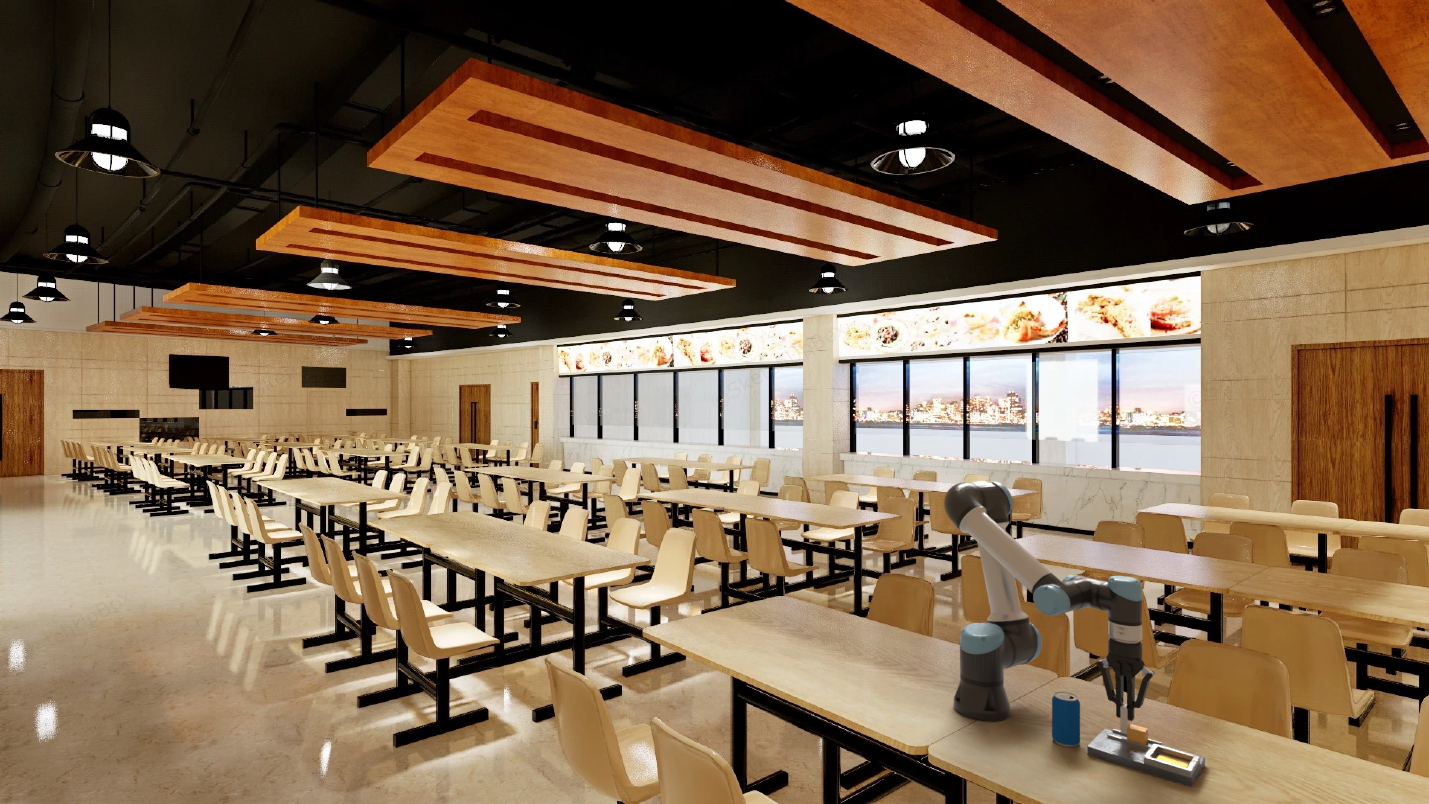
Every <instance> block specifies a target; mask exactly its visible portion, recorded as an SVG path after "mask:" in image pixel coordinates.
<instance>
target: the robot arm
mask: <svg viewBox="0 0 1429 804" xmlns="http://www.w3.org/2000/svg"><path fill="white" fill-rule="evenodd" d="M1013 506H1014V500H1013V496H1012V493H1011V492H1010V491H1009V489H1008V488H1007V487H1006V486H1005V485H1003V484H1002V483H1001V482H999V481H994V480H979V481H970V482H969V481H968V482H959V483H956V484H954V485H952V486H951V487H950V488H949V489H948V490H947V492H946V494H945V496H944V500H943V507H944V510H945V514H946V515H947V517H948V519H949V520H950V521H951V522H952V523H953V525H954V527H956V529H958V530H959V531H960V532H962V533H963V534H968V535H969V536H971V537H972V539H974V540H975V541H976V542H977V547H978V551H979V556H980V564H981V567H982V571H983V573H982V574H983V578H984V582H985V587H986V593H987V599H988V604H989V607H990V608H989V609H990V613H989V616H988V617H987V618H986V621H987V622H980V623H979V622H973V623H969V624H967V625H965V626H964V627H963V628H962V629H961V631H960V637H959V671H960V672H959V676H960V677H959V682H958V685H957V687H956V691H955V693H954V696H953V708H954V710H956V712H958V713H959V714H961V715H963V716H965V717H968V718H970V719H975V720H978V721H985V722H992V721H993V722H995V721H996V722H997V721H1003V720H1007V719H1008V718H1010V716H1011V703H1010V701H1009V697H1008V693H1007V692H1006V688H1005V685H1004V682H1005V679H1004V677H1005V676H1004V674H1005V673H1004V671H1005V670H1007V669H1010V668H1013V667H1016V666H1021V665H1027V664H1028V663H1030V662H1032V661H1034V660H1035V659H1037V658H1038V657H1039V655H1040V653H1041V651H1042V647H1043V640H1042V636H1041V633H1040V630H1039V629H1038V628H1037V627H1036V626H1035V624H1033V623H1032V622H1031V621H1030V618H1029V615H1028V614H1027V613H1026V612H1024V611H1023V610H1022V606H1021V601H1020V597H1019V591H1018V587H1017V581H1016V580H1018V581H1019V582H1020V584H1022V586H1024V587H1025V588H1026V589H1027V590H1028V591H1029V592H1030V593H1031V594H1032V595H1033V598H1032V600H1033V603H1034V604H1035V608H1036V610H1038V611H1039V612H1040V613H1042V614H1043V615H1046V616H1057V615H1058V616H1059V615H1065V614H1066V613H1069V612H1074V611H1078V610H1082V609H1087V608H1090V609H1095V610H1099V611H1103V612H1107V617H1108V619H1107V623H1108V627H1107V628H1108V629H1107V630H1108V631H1107V632H1108V633H1107V634H1108V636H1109V637H1108V638H1107V639H1108V641H1107V643H1108V644H1107V645H1108V646H1107V648H1108V649H1107V650H1108V651H1107V652H1108V653H1107V655H1106V656H1105V658H1104V659H1102V658H1101V659H1099V660H1098V661H1097V662H1096V665H1097V667H1098V669H1099V670H1100V671H1101V672H1100V673H1101V677H1102V680H1103V684H1104V688H1105V692H1106V697H1107V699H1108V701H1110V702H1112V703H1114V704H1115V716H1116V718H1119V720H1120V732H1121V733H1124V734H1127V727H1128V725H1129V724H1131V722H1133V721H1134V720H1135V709H1140V708H1141V707H1142V706H1143V704H1144V701H1145V697H1146V694H1147V691H1148V688H1149V684H1150V681H1151V679H1152V678H1154V676H1155V671H1153V670H1150V669H1149V668H1148V667H1147V666H1145V665H1146V664H1145V662H1144V661H1143V660H1144V659H1143V642H1142V640H1143V619H1142V618H1143V599H1144V597H1143V589H1142V588H1143V587H1142V582H1141V581H1140V580H1139V579H1138V578H1136V577H1131V576H1125V575H1124V576H1123V575H1112V576H1109V577H1108V579H1107V581H1105V580H1099V579H1095V578H1091V577H1087V576H1084V575H1075V574H1068V575H1066V576H1065V578H1063V579H1062V580H1060V578H1058V577H1057V576H1056V575H1055V574H1054V573H1053V572H1051V571H1050V570H1049V569H1048V568H1047V567H1045V566H1044V564H1042V563H1041V562H1040V561H1039V560H1038V559H1037V558H1036V557H1035V556H1034V555H1032V554H1031V552H1030V551H1028V550H1027V549H1026V548H1025V547H1023V546H1022V545H1021V544H1020V543H1019V542H1018V541H1017V540H1016V539H1014V538H1013V536H1011V535H1010V534H1009V533H1008V532H1007V531H1006V528H1007V527H1008V525H1009V524H1010V520H1009V515H1010V513H1011V512H1012V510H1013ZM1109 667H1111V669H1112V670H1113V672H1114V678H1115V688H1114V684H1113V680H1112V676H1111V672H1110V668H1109ZM1140 672H1142V673H1141V675H1142V677H1143V678H1142V680H1141V682H1140V686H1139V689H1138V693H1137V696H1136V676H1137V675H1138V674H1139V673H1140ZM1124 677H1125V678H1126V679H1125V680H1126V703H1124V702H1125V699H1124V695H1125V693H1124V689H1125V688H1124V687H1125V686H1124V683H1125V682H1124Z"/></svg>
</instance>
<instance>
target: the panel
mask: <svg viewBox="0 0 1429 804" xmlns="http://www.w3.org/2000/svg"><path fill="white" fill-rule="evenodd" d="M1086 748H1087V749H1086V750H1087V751H1086V752H1087V755H1088V756H1091V757H1095V758H1098V759H1100V760H1104V761H1107V762H1110V763H1114V764H1116V765H1120V766H1123V767H1124V768H1125V767H1126V768H1129V769H1132V770H1136V771H1138V772H1140V773H1145V774H1148V775H1151V776H1154V777H1158V778H1161V779H1164V780H1167V781H1170V782H1173V783H1176V784H1180V785H1183V786H1185V787H1189V788H1193V786H1194V785H1195V784H1196V782H1197V780H1198V778H1199V776H1200V775H1201V773H1202V771H1203V769H1204V768H1205V767H1206V757H1205V756H1202V755H1199V754H1195V753H1192V752H1188V751H1185V750H1181V749H1179V748H1173V747H1171V746H1167V745H1165V744H1163V743H1162V741H1158V740H1153V739H1150V738H1148V742H1147V743H1146V745H1145V744H1141V743H1138V742H1134V741H1131V740H1127V734H1124V733H1121V732H1120V730H1119V729H1116V728H1112V730H1111V729H1108V728H1104V729H1103V730H1102V731H1100V733H1099V734H1098V735H1097V736H1096V737H1094V739H1093V740H1091V742H1090V743H1088V745H1087V747H1086Z"/></svg>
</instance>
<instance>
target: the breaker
mask: <svg viewBox="0 0 1429 804" xmlns="http://www.w3.org/2000/svg"><path fill="white" fill-rule="evenodd" d="M1148 739H1149V728H1148V727H1144V726H1140V725H1136V724H1132V723H1130V724H1129V725H1128V727H1127V740H1131V741H1134V742H1138V743H1141V744H1145V745H1146V743H1147V742H1148Z"/></svg>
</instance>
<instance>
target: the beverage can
mask: <svg viewBox="0 0 1429 804" xmlns="http://www.w3.org/2000/svg"><path fill="white" fill-rule="evenodd" d="M1080 702H1081V701H1080V700H1079V697H1078V695H1076V694H1075V693H1072V692H1069V691H1055V692H1054V693H1053V696H1052V697H1051V738H1052V740H1054V742H1055V743H1056V744H1058V745H1059V746H1062V747H1067V748H1074V747H1076V746H1078V745H1080V743H1081V703H1080Z"/></svg>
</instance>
